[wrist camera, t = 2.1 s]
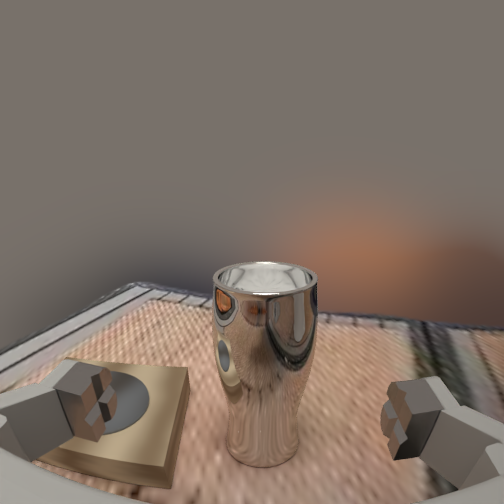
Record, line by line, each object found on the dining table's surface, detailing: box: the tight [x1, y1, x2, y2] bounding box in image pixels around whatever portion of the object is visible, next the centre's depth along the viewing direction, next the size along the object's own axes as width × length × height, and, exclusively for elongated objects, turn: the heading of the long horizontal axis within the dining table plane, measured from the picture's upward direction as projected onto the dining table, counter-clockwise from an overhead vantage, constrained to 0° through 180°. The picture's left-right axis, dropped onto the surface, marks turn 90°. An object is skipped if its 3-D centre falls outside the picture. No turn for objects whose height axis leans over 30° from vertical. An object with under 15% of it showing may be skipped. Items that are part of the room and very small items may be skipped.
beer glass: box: [212, 262, 318, 467], centre depth 22 cm, size 7×7×15 cm
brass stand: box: [36, 357, 190, 489], centre depth 24 cm, size 14×13×3 cm
